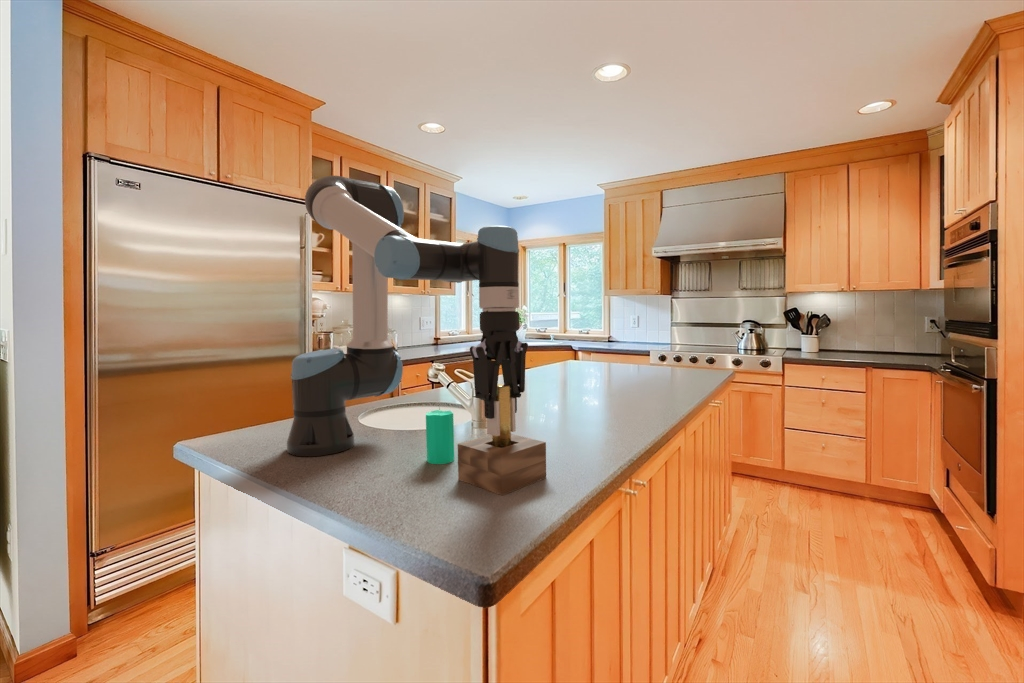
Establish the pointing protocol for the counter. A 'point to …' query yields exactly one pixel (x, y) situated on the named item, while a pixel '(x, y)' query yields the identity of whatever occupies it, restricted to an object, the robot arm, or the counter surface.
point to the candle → (440, 437)
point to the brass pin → (503, 417)
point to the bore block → (502, 463)
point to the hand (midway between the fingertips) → (501, 432)
